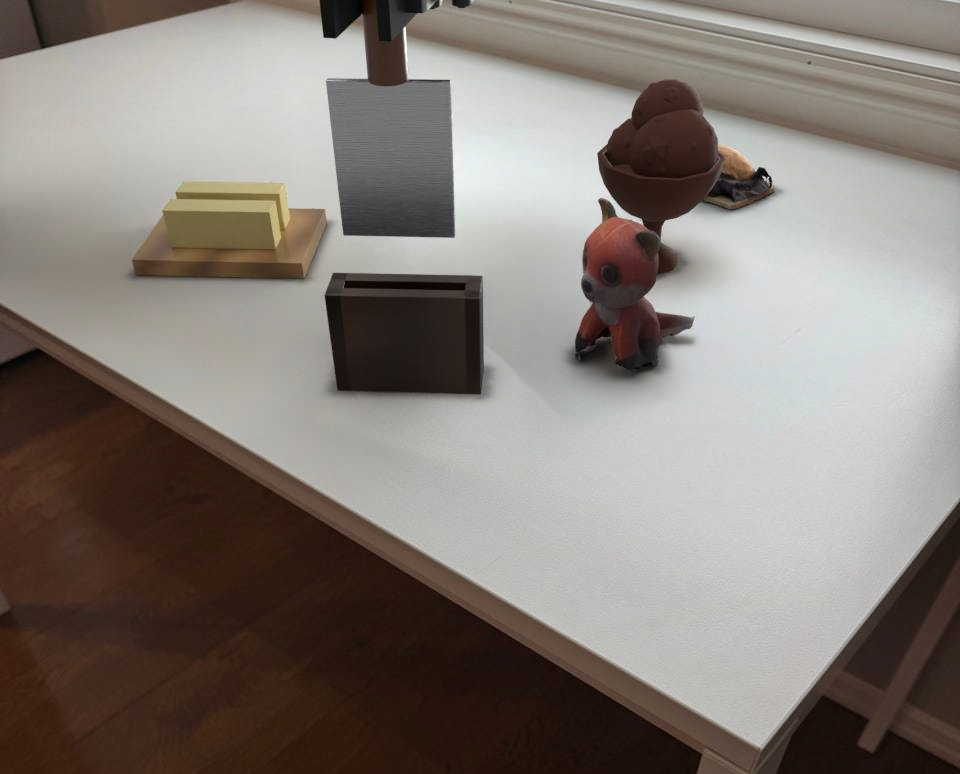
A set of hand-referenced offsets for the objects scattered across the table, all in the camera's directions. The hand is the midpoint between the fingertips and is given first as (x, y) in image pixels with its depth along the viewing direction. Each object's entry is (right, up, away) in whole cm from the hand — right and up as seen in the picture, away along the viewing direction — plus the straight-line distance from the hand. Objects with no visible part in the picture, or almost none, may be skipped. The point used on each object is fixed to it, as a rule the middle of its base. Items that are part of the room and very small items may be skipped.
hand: (355, 12), depth 54 cm
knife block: (+2, -15, +23) cm, 27 cm away
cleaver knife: (+1, -7, +15) cm, 16 cm away
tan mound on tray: (+32, +13, +49) cm, 60 cm away
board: (-17, +3, +40) cm, 43 cm away
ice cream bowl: (+23, 0, +37) cm, 44 cm away
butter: (-17, +4, +39) cm, 42 cm away
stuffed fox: (+20, -12, +25) cm, 34 cm away
